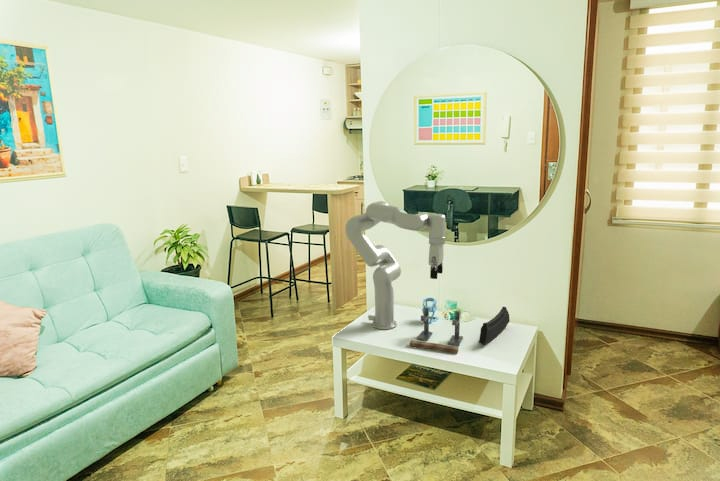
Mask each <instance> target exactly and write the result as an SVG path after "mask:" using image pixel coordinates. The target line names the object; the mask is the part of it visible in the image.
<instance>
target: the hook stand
mask: <svg viewBox="0 0 720 481" xmlns="http://www.w3.org/2000/svg"><path fill="white" fill-rule="evenodd" d="M429 316H430V312H429V307H425V308H424V316H423V314H422V315H420V322H423V323H424V324H423V326H424V327H423V330H422V331H421V332H420V333H419V335H418V336H417V338H416V339H417V340H416V341H422V342H428V341H429V340H430V338H431V337H432V335H433V332H432V331H430V330H429V329H430V326H429V325H430V324H429V321H430V318H429ZM451 322H452V323H451V325H452V326H454V334H452V335H451V337H450V339H449V340H448V342H447V343H448V344H447V345H449V346H456V347H459V346H460V345H461V343H462V342H463V340H464V336H462V335H460V328H461V325H460V324H461V323H460V322H461V311H460V310H454V319H452V320H451Z"/></svg>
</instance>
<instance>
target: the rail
mask: <svg viewBox="0 0 720 481" xmlns="http://www.w3.org/2000/svg"><path fill="white" fill-rule="evenodd" d="M414 347H416V348H415V349H421V348H422V349H423V350H428V349H429V350H428V351H435V352H440V353H443V352H444V353H448V354H454V355H455V354H456V355H457V354H458V353H459V346H457V345H450V344H441V343H433V342H428V341H423V340H414V339H411V340H410V341H409V348H414Z"/></svg>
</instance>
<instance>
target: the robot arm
mask: <svg viewBox="0 0 720 481" xmlns="http://www.w3.org/2000/svg"><path fill="white" fill-rule="evenodd" d="M381 222H383V223H387V224H392V225H394V226H396V227H398V228H400V229H404V230H408V231H414V232H417V231H419V232H420V231H421V230H424V229H427V228H428V244H429V250H428V265H429V266H430V269H429V270H430V271H429V272H430V276H429V278H430V279H433V280H437V279H438V274H440V275H441V274H443V271H444V270H443V267H444V266H443V261H444V245H446V215H445V214H443V213H431V212H427V211H426V212H425V211H423V212H419V213H415V214H413V213H412V214H411V213H406V212H402V211H401V210H400V207H398V206H394V205H389V203H387V202H386V201H382V200H381V201H380V200H379V201H375V202H372V203H370V204H369V205H367V206H366V208H365V212H364V213H361V214H358V215H354V216H352V217H350V218H349V219H348V220H347V221H346V224H345V235H346V237H347V239H348V240H349V242H350V243H351V245H352V246H353V247H354V249H355V250H356V251H357V253H358V254H359V256H360V257H361V259H362V260H363V261H364V263H365V264H366V265H367V266H368V267H371V268H373V267H376V266H378V267H377V268H376V269H375V270H374V271H373V274H372V280H373V285H374V315H372V314H368V316H367V318H368V320H369V321H372V323H371V324H372V327H373V328H375V329H378V330H391V329H394V328H396V327H397V326H398V325H397V324H398V323H397V321H396V320H395V319H394V316H395V314H394V313H395V312H394V310H395V309H394V305H395V304H394V303H395V302H394V288H393V284H392V282H393V281H395V280H397V279H398V278H399V277H400V276H401V274H402V273H401V272H402V269H401V266H400V264H399V263H398V262H397V260H396V258H395V257H394V256H393V254H392V253H391V252H390V250H389V249H388V248H387V247H386V246H384V245H383V244H382V245H381V244H377V245H374V244H373V242H372V241H371V239H370V238H369V237H368V236H367V235H365V234H364V233H363V232H364V231H367V230H368V231H369V230H371V229H372V228H373V227H375V226H377V224H379V223H381Z"/></svg>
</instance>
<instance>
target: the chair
mask: <svg viewBox="0 0 720 481" xmlns="http://www.w3.org/2000/svg"><path fill="white" fill-rule="evenodd" d="M428 302H432V305H428ZM437 302H438V300H436V299H435V298H433V297H426V298H424V299H423V300H422V309H421V311H422V316H424V308H425V307H429V313H432V315H431V316H430V315H429V325H431V324H433V323H434V322H436V321H438V320H439V317H437V316H434V315H435V313H436V311H437V309H438V306H436V304H437ZM433 318H435V319H433ZM432 322H433V323H432Z"/></svg>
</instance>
